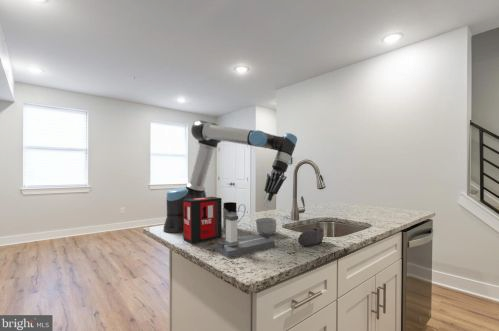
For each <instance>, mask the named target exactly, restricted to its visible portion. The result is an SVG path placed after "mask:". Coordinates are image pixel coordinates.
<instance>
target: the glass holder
mask: <svg viewBox="0 0 499 331" xmlns="http://www.w3.org/2000/svg"><path fill="white" fill-rule="evenodd" d="M241 206H243V207H244V211H243V215H242V216H241V218H239V219H238V220H237V224H238V223H239V222H240V221H241V220H242V219H243V218H244V216H245V213H246V205H245V204H242V203H241V204H238V207H237V202H235V201H234V202H232V201H229V202H228V201H227V202H223V208H222V222H223V223H222V231H224V232H226V219H225V215H229V214H234V215H237V216H238V213H239V212H240V207H241ZM237 208H238V211H237ZM237 231H238V227H237Z"/></svg>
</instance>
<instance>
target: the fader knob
mask: <svg viewBox="0 0 499 331" xmlns="http://www.w3.org/2000/svg"><path fill="white" fill-rule="evenodd" d="M225 219H226V231H225V239H224V242H225V244H226V245H228V246H230V247H232V246H236V245H239V241H238V240H237V239H238V230H237V228H238V223H237V222H238V221H239V215H238V214H237V215H234V214H229V215H225Z"/></svg>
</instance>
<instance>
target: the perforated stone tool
mask: <svg viewBox="0 0 499 331" xmlns="http://www.w3.org/2000/svg"><path fill="white" fill-rule="evenodd" d="M323 240H324V230H323V228H322V227H314V228H311V229H308V230H305V231H304V232H301V233H300V235H299V236H298V237H297V241H298V242H297V243H298V244H299V245H300V246H302V247H308V246H309V247H310V246H315V245H318V244H321V243H323Z"/></svg>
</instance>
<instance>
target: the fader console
mask: <svg viewBox="0 0 499 331" xmlns="http://www.w3.org/2000/svg"><path fill="white" fill-rule="evenodd" d="M237 240H238V241H239V245H236V246H232V247H230V246H228V245H226V244H225V241H220V240H219V241H217V243H214V244H213V250H214V251H215V252H216V253H219V254H221V255H222V256H224V257H226V258H233V257H237V256H241V255H244V254H248V253H253V252H257V251H261V250H266V249H269V248H272V247H275V245H276V244H275V240H273V239H270V235H269V234H267V233H264V232H263V233H262V235H261V234H256V235H250V236H246V237H242V238H237Z"/></svg>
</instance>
